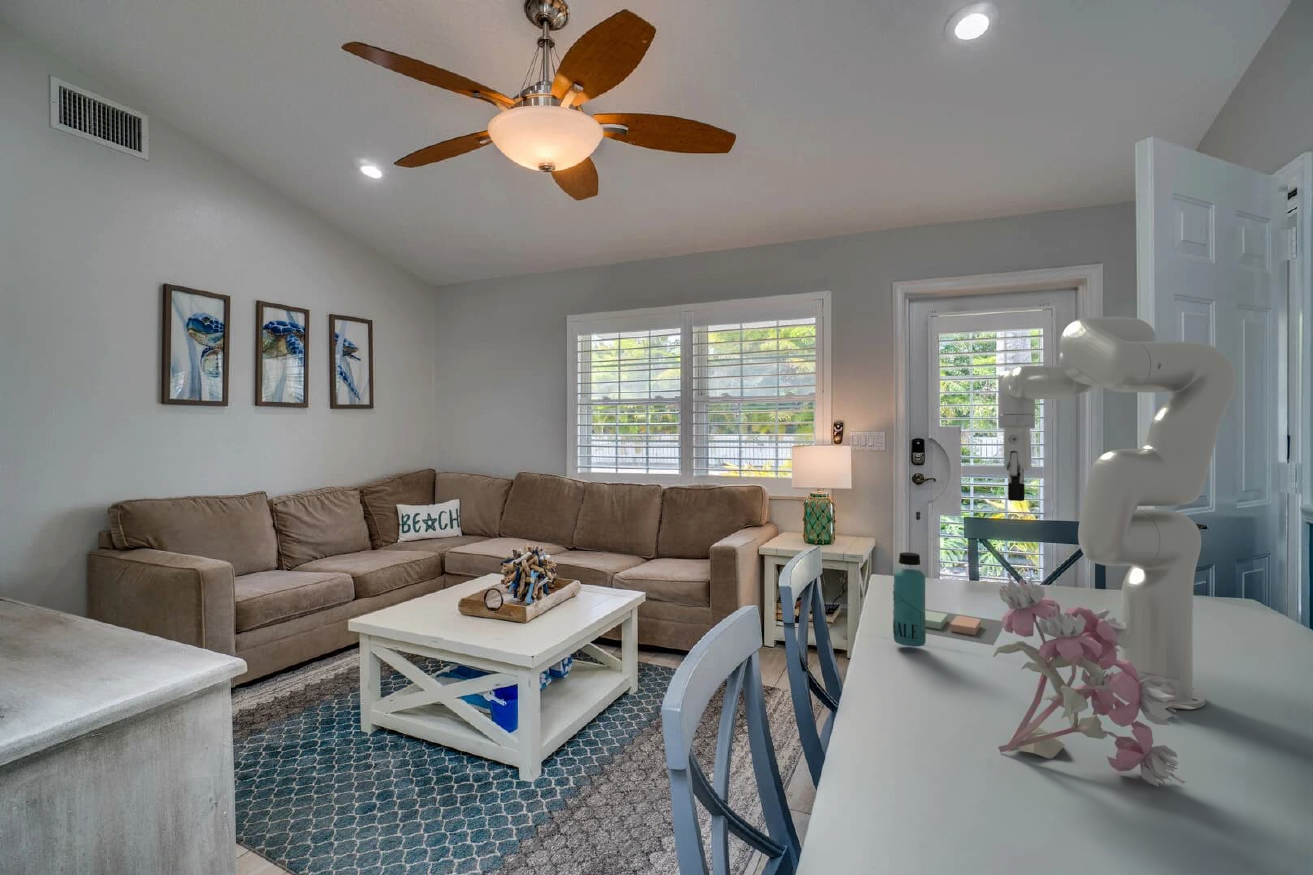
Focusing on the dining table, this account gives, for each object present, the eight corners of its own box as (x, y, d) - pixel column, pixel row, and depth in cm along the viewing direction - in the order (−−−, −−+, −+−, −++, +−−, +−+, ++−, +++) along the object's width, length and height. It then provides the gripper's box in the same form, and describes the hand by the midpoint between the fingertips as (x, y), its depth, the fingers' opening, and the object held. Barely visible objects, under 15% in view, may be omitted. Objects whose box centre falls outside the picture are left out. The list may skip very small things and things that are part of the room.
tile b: (947, 621, 146) (940, 630, 139) (925, 617, 148) (917, 626, 142) (947, 613, 146) (940, 622, 139) (925, 610, 148) (917, 618, 142)
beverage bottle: (920, 644, 132) (920, 550, 132) (931, 655, 125) (931, 556, 125) (888, 643, 132) (888, 549, 132) (897, 654, 126) (897, 555, 126)
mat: (993, 647, 129) (993, 644, 129) (894, 630, 141) (894, 627, 141) (1005, 624, 146) (1005, 621, 146) (915, 610, 157) (915, 607, 157)
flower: (1071, 818, 69) (1165, 616, 70) (930, 712, 91) (1002, 558, 91) (1180, 860, 75) (1265, 673, 76) (1023, 751, 96) (1090, 606, 97)
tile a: (981, 626, 141) (975, 636, 135) (957, 623, 144) (950, 631, 138) (981, 619, 141) (975, 627, 135) (957, 615, 144) (950, 623, 138)
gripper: (1031, 421, 138) (1031, 504, 138) (1037, 423, 150) (1037, 498, 150) (993, 422, 142) (993, 502, 142) (1002, 423, 154) (1002, 497, 154)
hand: (1016, 500), depth 146 cm, fingers closed
